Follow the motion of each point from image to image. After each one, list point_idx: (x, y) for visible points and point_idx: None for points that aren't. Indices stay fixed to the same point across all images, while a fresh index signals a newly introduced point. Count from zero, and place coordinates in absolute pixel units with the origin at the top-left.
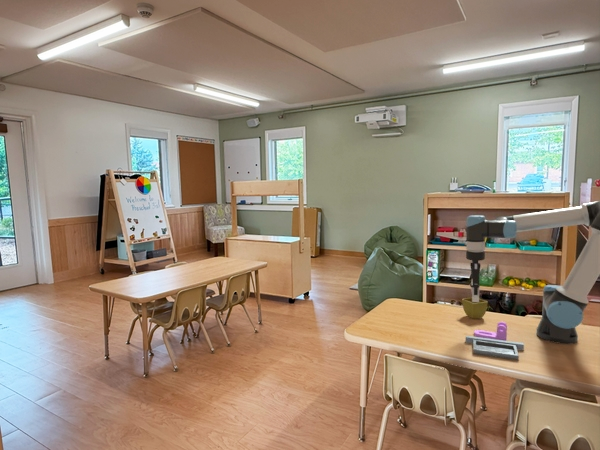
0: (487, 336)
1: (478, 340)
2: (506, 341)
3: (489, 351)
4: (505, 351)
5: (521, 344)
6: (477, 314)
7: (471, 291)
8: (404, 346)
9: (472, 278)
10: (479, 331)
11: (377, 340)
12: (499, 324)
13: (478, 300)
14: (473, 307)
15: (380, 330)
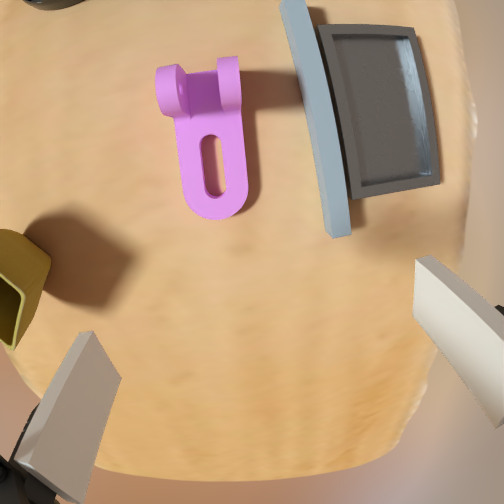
0: (244, 150)
1: (351, 177)
2: (308, 58)
3: (433, 126)
4: (374, 66)
5: (305, 3)
6: (35, 254)
7: (117, 388)
8: (431, 363)
9: (51, 496)
10: (206, 196)
11: (410, 414)
12: (179, 100)
13: (441, 269)
14: (35, 286)
15: (347, 438)
